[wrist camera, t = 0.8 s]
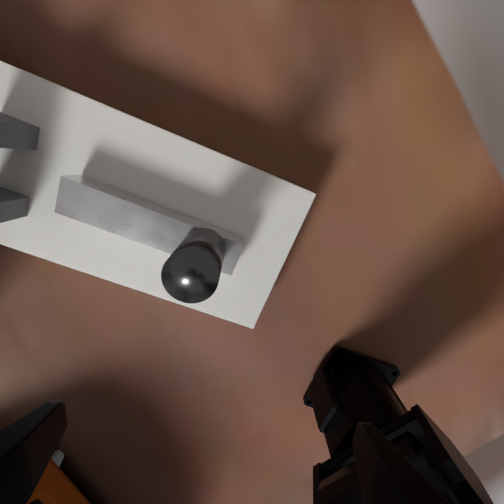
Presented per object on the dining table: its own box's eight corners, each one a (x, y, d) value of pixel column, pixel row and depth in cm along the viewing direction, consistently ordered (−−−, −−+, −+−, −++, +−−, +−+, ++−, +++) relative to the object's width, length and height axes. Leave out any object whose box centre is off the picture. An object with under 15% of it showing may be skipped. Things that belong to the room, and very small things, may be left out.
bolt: (245, 234, 17) (244, 269, 11) (231, 268, 17) (225, 316, 12) (79, 170, 15) (-10, 176, 10) (72, 210, 16) (-16, 235, 11)
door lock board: (305, 188, 19) (333, 202, 13) (252, 306, 22) (254, 363, 16) (-69, 31, 16) (-267, -51, 10) (-73, 194, 19) (-228, 210, 13)
